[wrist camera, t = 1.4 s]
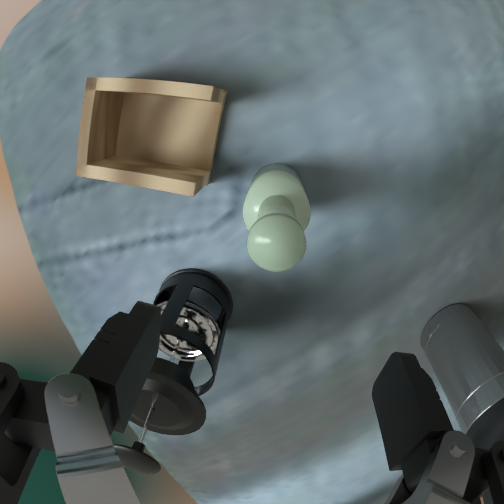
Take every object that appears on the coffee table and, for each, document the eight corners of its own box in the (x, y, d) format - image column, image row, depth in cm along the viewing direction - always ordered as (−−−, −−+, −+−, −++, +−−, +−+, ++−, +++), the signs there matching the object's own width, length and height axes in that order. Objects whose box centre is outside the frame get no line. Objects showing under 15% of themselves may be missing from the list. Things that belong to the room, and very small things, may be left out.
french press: (238, 270, 37) (195, 447, 16) (238, 334, 40) (209, 499, 19) (142, 265, 37) (38, 406, 16) (153, 327, 41) (83, 468, 20)
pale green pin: (307, 170, 31) (332, 213, 17) (295, 217, 34) (307, 292, 19) (257, 158, 31) (241, 192, 17) (247, 206, 34) (224, 274, 19)
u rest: (227, 90, 29) (214, 82, 22) (209, 183, 33) (192, 200, 26) (121, 79, 28) (87, 74, 22) (109, 166, 33) (75, 178, 26)
